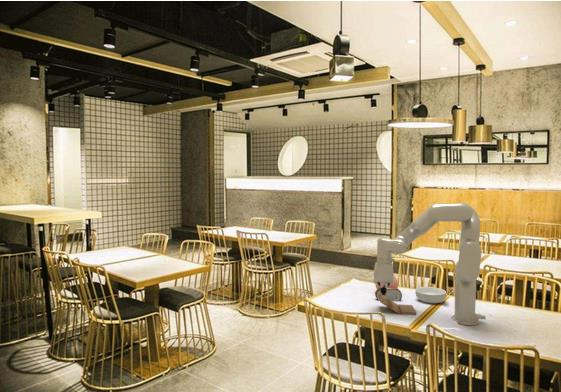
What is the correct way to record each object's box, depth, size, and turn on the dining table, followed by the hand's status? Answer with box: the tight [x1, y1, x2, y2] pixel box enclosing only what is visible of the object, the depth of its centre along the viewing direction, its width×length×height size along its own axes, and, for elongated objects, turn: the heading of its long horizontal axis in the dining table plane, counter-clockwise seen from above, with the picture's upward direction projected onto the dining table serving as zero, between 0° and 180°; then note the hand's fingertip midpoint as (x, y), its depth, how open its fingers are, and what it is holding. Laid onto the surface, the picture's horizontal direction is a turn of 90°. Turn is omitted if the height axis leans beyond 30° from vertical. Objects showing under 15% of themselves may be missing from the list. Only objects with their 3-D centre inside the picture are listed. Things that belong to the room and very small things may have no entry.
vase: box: [374, 275, 399, 290], centre depth 250 cm, size 14×14×18 cm
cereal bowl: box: [414, 286, 447, 304], centre depth 233 cm, size 17×17×7 cm
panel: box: [378, 294, 401, 315], centre depth 216 cm, size 11×12×2 cm
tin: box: [374, 287, 403, 302], centre depth 233 cm, size 15×3×8 cm, turn 84°
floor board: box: [398, 303, 417, 316], centre depth 216 cm, size 22×13×2 cm, turn 82°
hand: (383, 294), depth 216 cm, fingers closed
